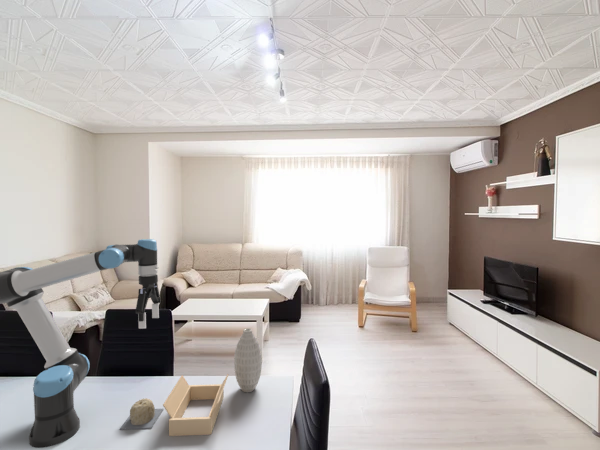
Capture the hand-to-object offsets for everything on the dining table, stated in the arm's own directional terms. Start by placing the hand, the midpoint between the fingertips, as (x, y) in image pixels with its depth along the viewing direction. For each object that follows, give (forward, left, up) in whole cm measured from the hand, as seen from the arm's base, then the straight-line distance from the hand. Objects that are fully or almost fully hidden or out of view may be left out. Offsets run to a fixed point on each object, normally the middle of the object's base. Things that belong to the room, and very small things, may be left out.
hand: (149, 322), depth 141 cm
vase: (+42, +7, -35) cm, 55 cm away
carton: (+24, -11, -35) cm, 44 cm away
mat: (+2, -13, -35) cm, 37 cm away
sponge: (+2, -13, -34) cm, 37 cm away
